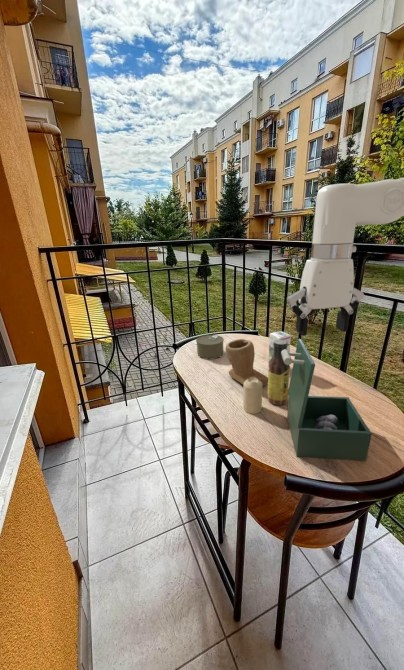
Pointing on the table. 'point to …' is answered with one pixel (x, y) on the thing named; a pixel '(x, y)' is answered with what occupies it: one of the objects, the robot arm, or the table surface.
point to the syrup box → (278, 336)
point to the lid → (299, 379)
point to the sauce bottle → (278, 375)
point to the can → (210, 346)
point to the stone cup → (243, 361)
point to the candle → (252, 395)
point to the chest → (330, 430)
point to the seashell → (326, 422)
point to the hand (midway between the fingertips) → (321, 331)
